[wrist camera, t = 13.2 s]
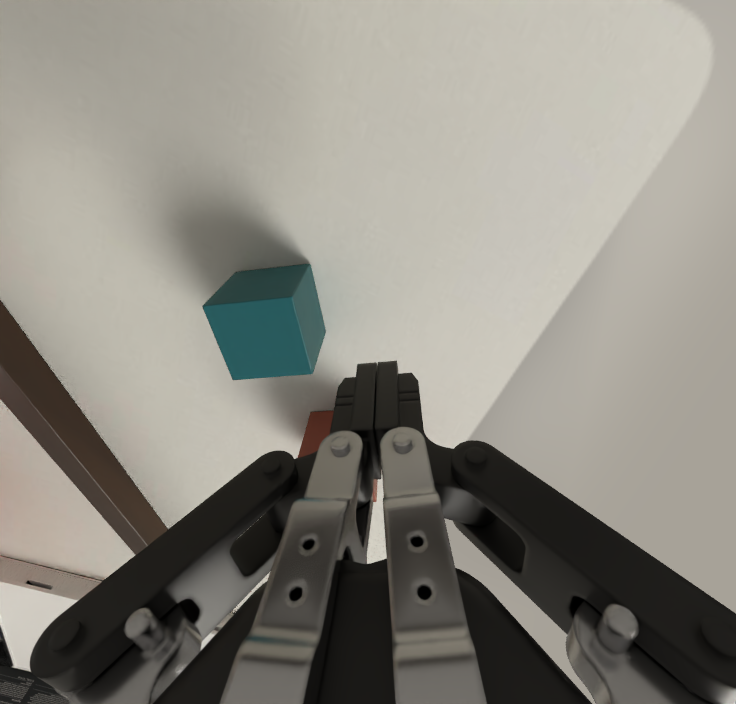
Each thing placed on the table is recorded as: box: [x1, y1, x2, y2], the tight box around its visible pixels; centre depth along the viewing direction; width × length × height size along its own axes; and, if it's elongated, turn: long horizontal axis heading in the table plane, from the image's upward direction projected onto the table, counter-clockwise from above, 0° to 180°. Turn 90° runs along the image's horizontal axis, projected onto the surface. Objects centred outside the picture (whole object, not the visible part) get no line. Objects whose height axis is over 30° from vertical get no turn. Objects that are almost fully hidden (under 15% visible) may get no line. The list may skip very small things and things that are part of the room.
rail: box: [0, 301, 168, 555], centre depth 29 cm, size 2×44×2 cm, turn 8°
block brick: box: [298, 411, 377, 502], centre depth 26 cm, size 4×4×4 cm
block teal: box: [203, 264, 326, 380], centre depth 21 cm, size 4×4×4 cm
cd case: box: [0, 556, 234, 671], centre depth 51 cm, size 35×2×31 cm
